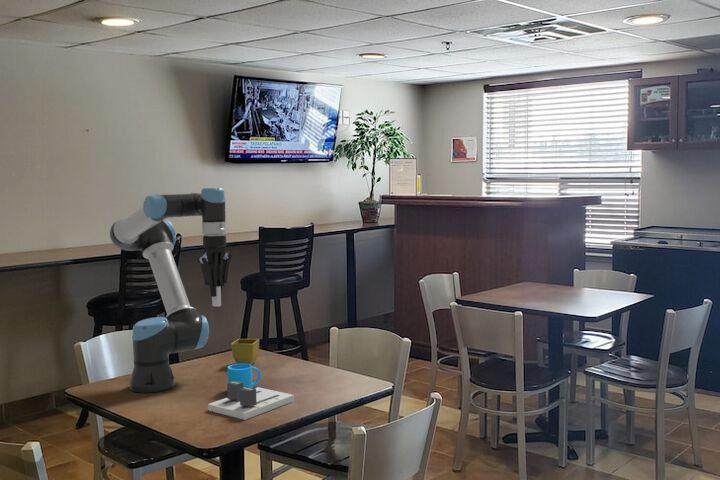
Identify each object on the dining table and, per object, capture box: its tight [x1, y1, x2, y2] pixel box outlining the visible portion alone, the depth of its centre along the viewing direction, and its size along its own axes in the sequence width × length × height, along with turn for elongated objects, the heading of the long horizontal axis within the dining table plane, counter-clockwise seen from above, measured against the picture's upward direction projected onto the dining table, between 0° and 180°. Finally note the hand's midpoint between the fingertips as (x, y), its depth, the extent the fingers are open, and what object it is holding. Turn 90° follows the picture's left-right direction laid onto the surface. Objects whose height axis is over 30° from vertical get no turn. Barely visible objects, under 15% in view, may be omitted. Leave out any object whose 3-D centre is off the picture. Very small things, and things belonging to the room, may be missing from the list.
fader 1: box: [226, 381, 243, 401], centre depth 234 cm, size 4×3×5 cm
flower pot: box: [230, 338, 260, 366], centre depth 286 cm, size 9×9×9 cm
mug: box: [227, 363, 262, 388], centre depth 252 cm, size 12×8×8 cm
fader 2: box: [240, 387, 257, 407], centre depth 227 cm, size 4×3×5 cm
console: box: [207, 386, 295, 421], centre depth 234 cm, size 16×22×2 cm
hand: (216, 305), depth 246 cm, fingers closed
